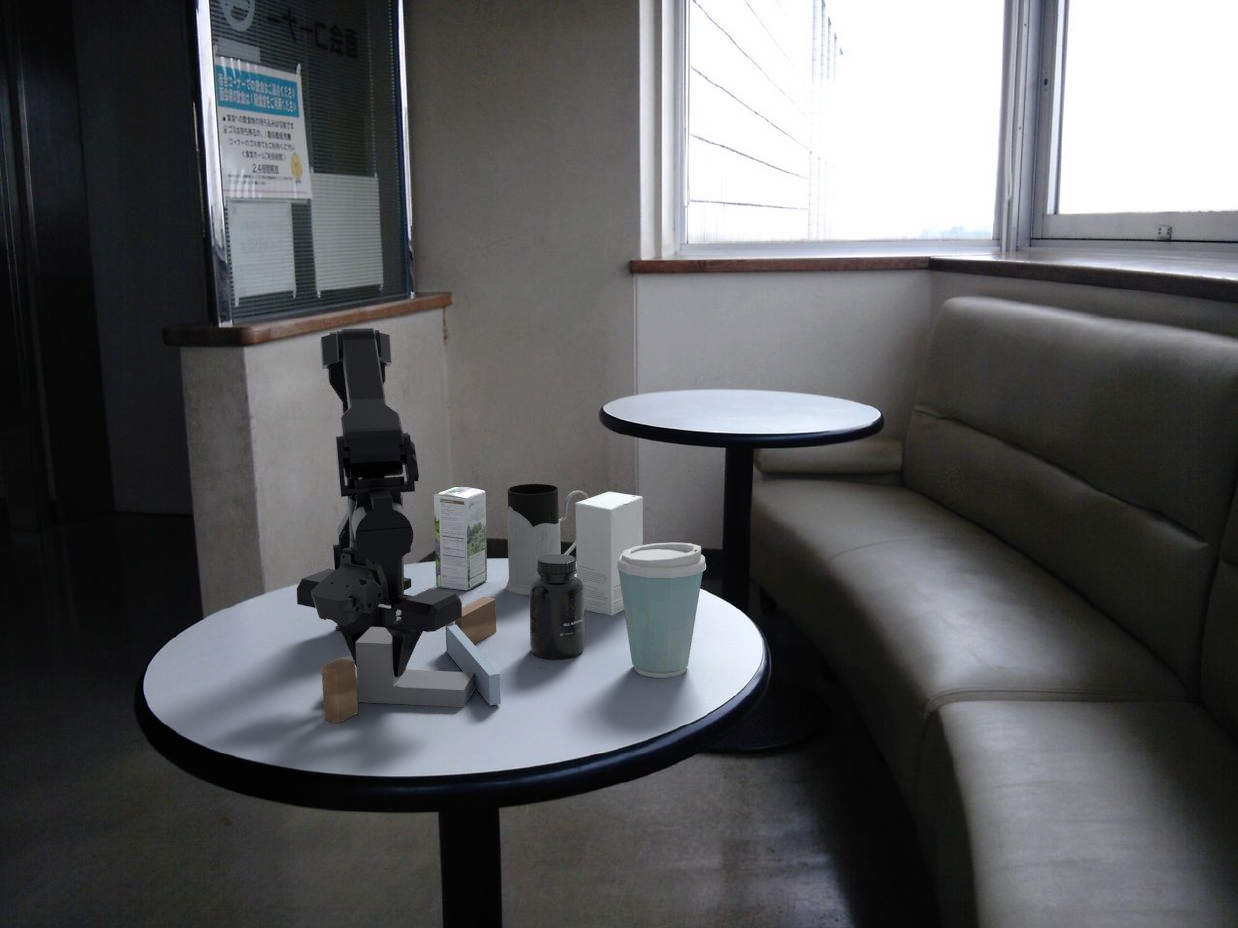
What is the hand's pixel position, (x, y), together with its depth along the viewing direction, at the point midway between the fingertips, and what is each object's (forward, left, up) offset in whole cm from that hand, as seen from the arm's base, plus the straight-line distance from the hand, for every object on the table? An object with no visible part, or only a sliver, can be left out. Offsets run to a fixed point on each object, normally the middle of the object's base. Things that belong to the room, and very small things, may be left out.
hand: (379, 671), depth 120 cm
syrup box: (-16, +40, -3) cm, 43 cm away
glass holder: (-4, +46, -3) cm, 46 cm away
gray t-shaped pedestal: (0, +1, -3) cm, 3 cm away
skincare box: (+9, +40, -3) cm, 41 cm away
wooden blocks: (-1, +15, -3) cm, 15 cm away
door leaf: (-1, +15, -3) cm, 15 cm away
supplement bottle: (+11, +21, -3) cm, 24 cm away
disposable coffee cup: (+25, +21, -3) cm, 33 cm away
